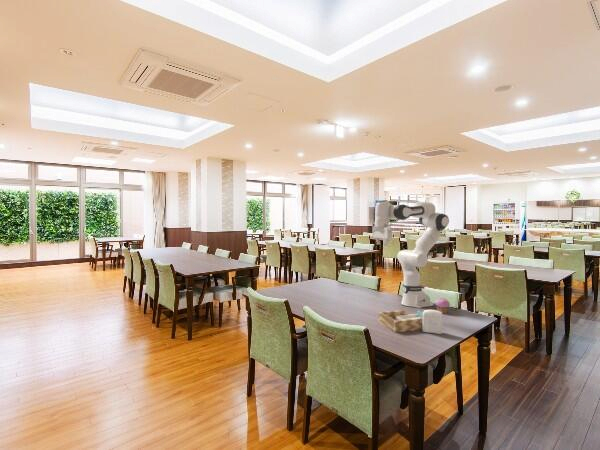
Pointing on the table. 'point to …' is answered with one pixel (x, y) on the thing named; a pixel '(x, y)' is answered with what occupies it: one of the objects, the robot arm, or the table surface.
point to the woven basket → (399, 321)
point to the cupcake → (442, 305)
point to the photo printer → (432, 321)
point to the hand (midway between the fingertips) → (382, 245)
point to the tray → (410, 316)
